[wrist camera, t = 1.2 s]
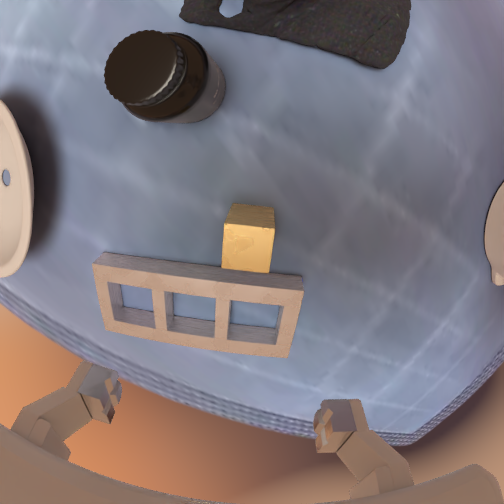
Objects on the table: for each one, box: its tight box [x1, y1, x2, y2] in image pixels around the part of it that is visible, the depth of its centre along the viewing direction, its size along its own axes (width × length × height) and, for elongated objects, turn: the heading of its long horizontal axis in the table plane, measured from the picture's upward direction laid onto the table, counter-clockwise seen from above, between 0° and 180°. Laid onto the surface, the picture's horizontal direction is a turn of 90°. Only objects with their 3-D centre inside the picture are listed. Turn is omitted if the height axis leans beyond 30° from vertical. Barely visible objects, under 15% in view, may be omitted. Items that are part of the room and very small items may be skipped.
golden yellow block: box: [221, 203, 275, 273], centre depth 26 cm, size 4×4×6 cm
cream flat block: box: [92, 252, 304, 358], centre depth 32 cm, size 23×10×3 cm, turn 84°
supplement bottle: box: [104, 30, 226, 123], centre depth 18 cm, size 7×7×12 cm
